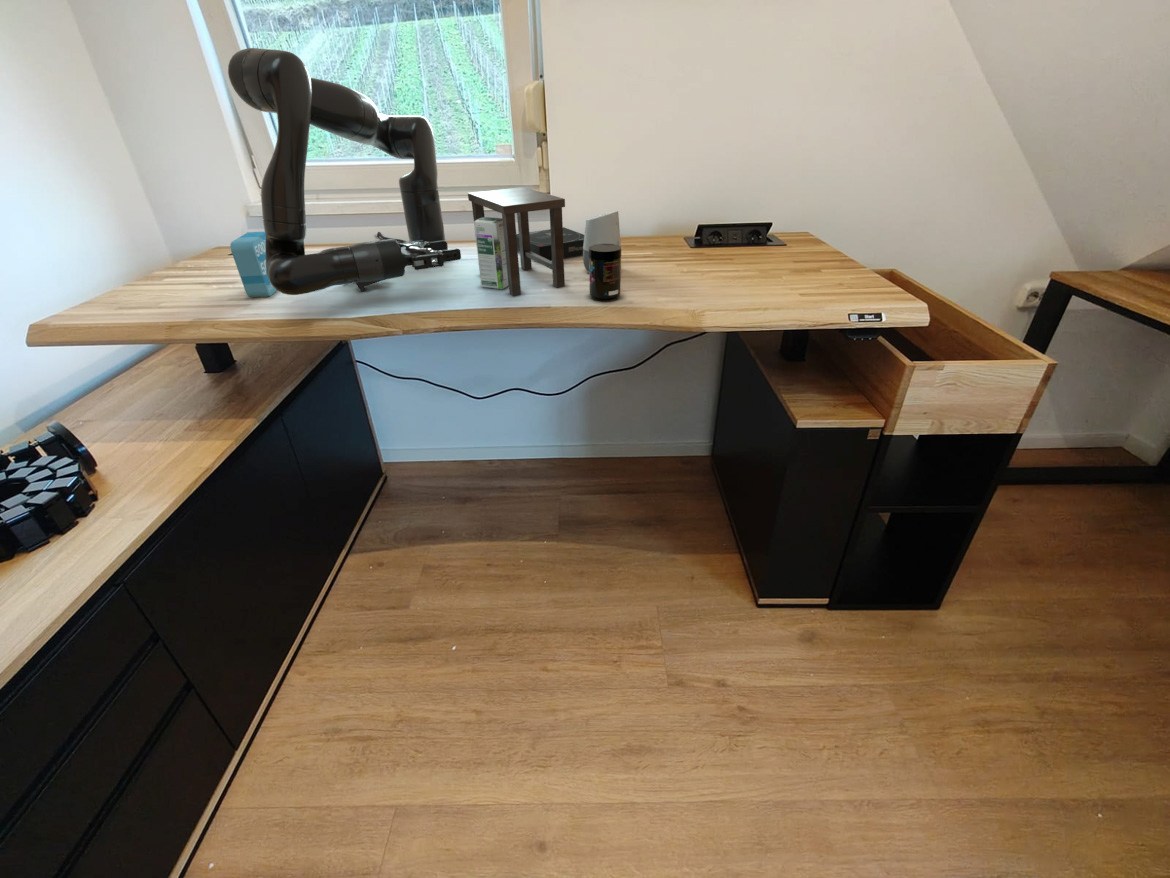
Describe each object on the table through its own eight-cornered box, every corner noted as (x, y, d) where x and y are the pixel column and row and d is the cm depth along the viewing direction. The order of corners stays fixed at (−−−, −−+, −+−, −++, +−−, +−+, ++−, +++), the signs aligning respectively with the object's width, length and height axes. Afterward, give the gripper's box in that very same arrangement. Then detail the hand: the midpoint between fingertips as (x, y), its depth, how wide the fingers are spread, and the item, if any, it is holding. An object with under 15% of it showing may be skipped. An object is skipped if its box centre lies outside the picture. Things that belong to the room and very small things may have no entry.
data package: (269, 298, 123) (250, 242, 116) (247, 299, 122) (227, 243, 116) (286, 282, 133) (269, 229, 126) (266, 283, 132) (248, 230, 126)
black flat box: (563, 241, 163) (562, 226, 161) (593, 253, 151) (593, 238, 149) (512, 249, 156) (511, 234, 154) (540, 262, 144) (539, 246, 142)
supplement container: (606, 290, 124) (606, 241, 118) (627, 297, 119) (628, 247, 114) (583, 296, 120) (582, 247, 115) (603, 304, 116) (603, 253, 110)
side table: (477, 275, 135) (467, 192, 125) (529, 266, 141) (523, 186, 131) (511, 297, 121) (503, 206, 111) (567, 286, 126) (565, 198, 116)
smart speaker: (594, 264, 142) (594, 205, 134) (627, 268, 138) (628, 208, 130) (576, 273, 135) (574, 212, 127) (609, 278, 131) (610, 216, 123)
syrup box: (480, 287, 127) (472, 220, 119) (493, 280, 131) (486, 215, 124) (502, 290, 125) (495, 222, 117) (514, 282, 130) (509, 217, 122)
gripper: (381, 248, 105) (462, 237, 112) (364, 234, 116) (439, 225, 122) (389, 288, 109) (467, 274, 116) (372, 271, 120) (445, 259, 126)
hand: (453, 249), depth 119 cm, fingers open, 8 cm apart
